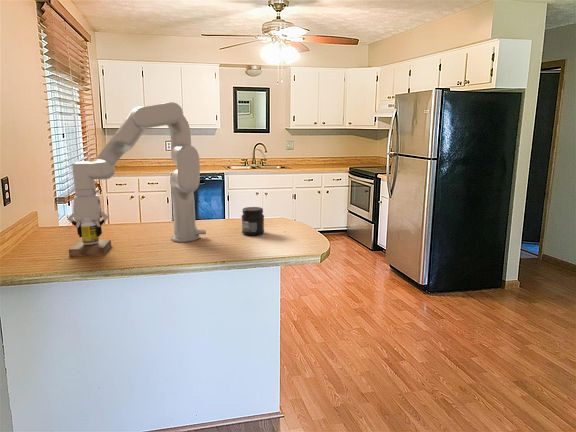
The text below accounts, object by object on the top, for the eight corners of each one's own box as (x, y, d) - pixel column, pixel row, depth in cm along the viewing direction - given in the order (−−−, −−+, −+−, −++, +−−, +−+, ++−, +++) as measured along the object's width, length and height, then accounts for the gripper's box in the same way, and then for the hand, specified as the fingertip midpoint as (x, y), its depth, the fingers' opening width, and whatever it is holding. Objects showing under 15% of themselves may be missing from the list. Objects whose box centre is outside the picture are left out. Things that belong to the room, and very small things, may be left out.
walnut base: (111, 246, 193) (110, 239, 192) (103, 255, 180) (103, 247, 180) (79, 247, 191) (78, 240, 190) (69, 256, 179) (68, 249, 178)
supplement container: (264, 230, 218) (264, 206, 216) (264, 236, 208) (263, 210, 205) (242, 231, 218) (242, 206, 215) (241, 236, 208) (240, 211, 205)
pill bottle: (93, 245, 182) (90, 218, 179) (79, 244, 183) (76, 218, 180) (102, 241, 187) (99, 215, 185) (88, 240, 189) (86, 214, 186)
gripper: (110, 190, 186) (114, 232, 189) (65, 191, 183) (70, 234, 187) (105, 193, 178) (110, 237, 182) (59, 195, 176) (64, 239, 180)
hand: (90, 235), depth 184 cm, fingers closed on pill bottle, 6 cm apart
